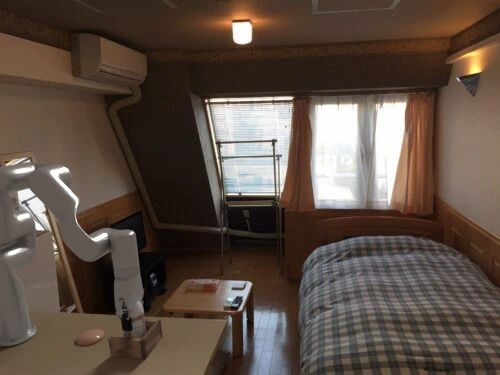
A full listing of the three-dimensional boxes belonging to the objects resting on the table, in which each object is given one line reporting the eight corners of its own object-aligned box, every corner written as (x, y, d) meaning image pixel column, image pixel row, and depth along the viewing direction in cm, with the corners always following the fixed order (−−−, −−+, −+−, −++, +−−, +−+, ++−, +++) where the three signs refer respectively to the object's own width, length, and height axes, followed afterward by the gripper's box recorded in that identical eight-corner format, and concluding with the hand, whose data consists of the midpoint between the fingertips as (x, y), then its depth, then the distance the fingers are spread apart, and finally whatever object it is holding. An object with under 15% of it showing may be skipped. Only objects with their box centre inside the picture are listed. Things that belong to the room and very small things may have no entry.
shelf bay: (110, 356, 127) (108, 338, 126) (130, 334, 139) (127, 318, 138) (145, 359, 124) (143, 340, 123) (162, 336, 136) (160, 319, 135)
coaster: (70, 344, 135) (70, 343, 135) (86, 330, 144) (86, 328, 143) (95, 346, 133) (95, 344, 133) (110, 331, 142) (109, 329, 142)
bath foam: (128, 355, 127) (121, 294, 123) (122, 345, 133) (114, 286, 129) (150, 347, 131) (143, 287, 127) (143, 337, 136) (136, 280, 133)
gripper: (129, 259, 136) (135, 310, 139) (100, 282, 119) (108, 338, 123) (150, 260, 134) (156, 311, 138) (124, 282, 118) (131, 339, 121)
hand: (133, 323), depth 130 cm, fingers closed on bath foam, 7 cm apart
